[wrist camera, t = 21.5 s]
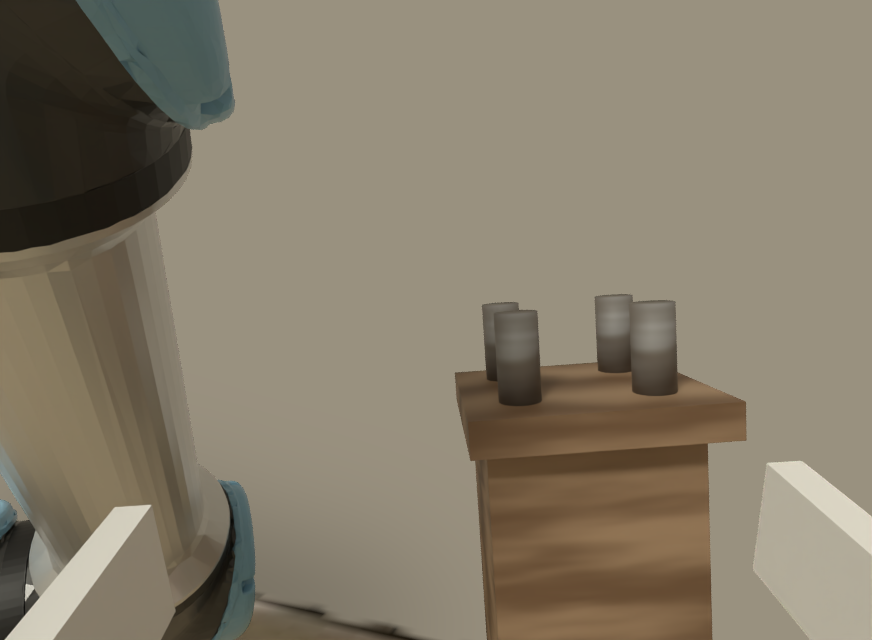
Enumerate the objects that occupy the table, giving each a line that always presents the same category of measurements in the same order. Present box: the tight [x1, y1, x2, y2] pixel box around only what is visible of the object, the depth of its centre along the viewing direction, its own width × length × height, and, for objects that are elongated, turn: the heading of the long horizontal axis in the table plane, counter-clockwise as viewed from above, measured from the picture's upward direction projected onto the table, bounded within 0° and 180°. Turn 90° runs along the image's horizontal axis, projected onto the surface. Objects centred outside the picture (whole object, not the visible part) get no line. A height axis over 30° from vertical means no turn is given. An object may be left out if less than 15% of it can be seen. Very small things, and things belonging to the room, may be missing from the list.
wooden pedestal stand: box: [455, 294, 746, 640], centre depth 36 cm, size 13×14×35 cm
